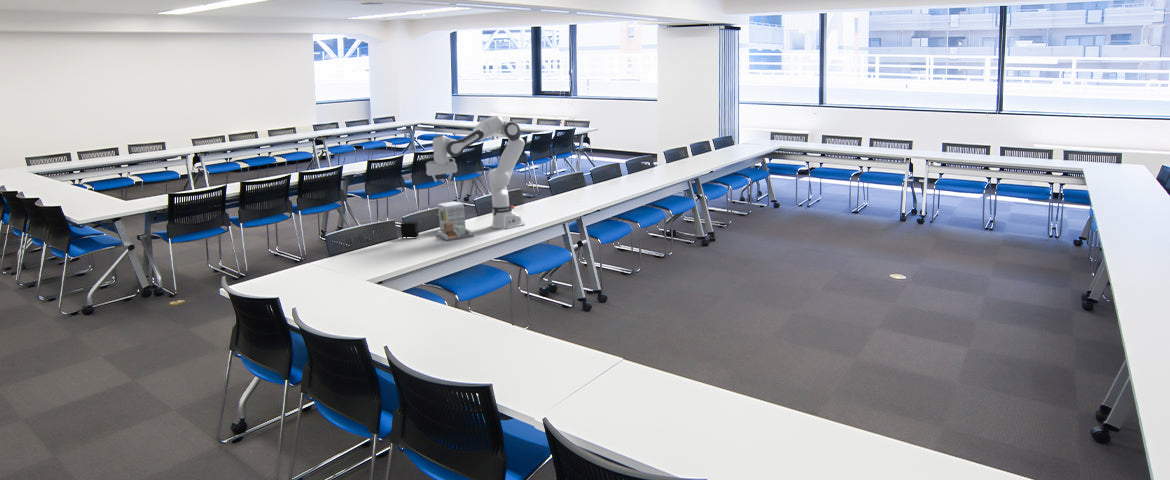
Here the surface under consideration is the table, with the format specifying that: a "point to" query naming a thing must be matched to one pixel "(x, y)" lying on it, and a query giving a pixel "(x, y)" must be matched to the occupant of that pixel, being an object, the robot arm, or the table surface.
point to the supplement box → (451, 214)
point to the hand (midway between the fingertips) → (442, 180)
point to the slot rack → (456, 234)
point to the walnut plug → (448, 229)
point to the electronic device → (409, 229)
